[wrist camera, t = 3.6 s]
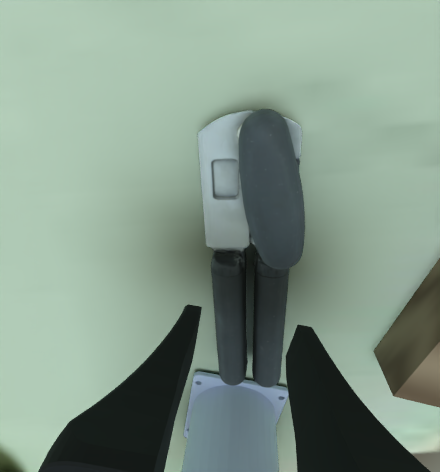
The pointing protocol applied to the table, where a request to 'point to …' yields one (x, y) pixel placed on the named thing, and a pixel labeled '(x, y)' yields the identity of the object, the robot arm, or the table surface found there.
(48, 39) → the table surface
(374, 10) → the table surface
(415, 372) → the walnut block
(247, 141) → the can opener
